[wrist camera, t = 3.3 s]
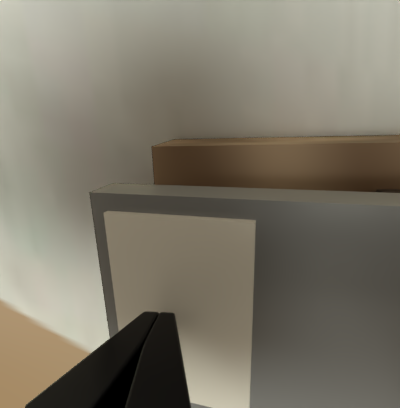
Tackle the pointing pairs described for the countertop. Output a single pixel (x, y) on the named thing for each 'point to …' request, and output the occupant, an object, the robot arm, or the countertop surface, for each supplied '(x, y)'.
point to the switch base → (282, 163)
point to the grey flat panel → (261, 288)
